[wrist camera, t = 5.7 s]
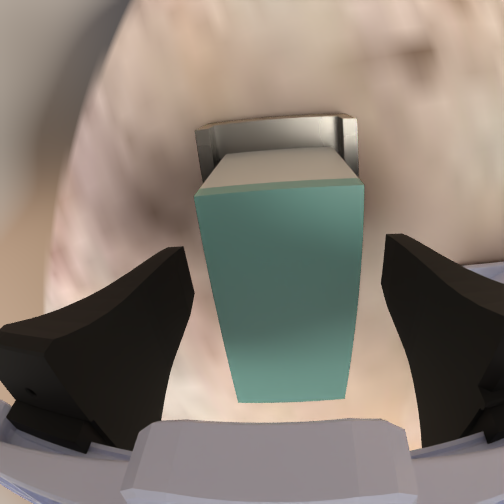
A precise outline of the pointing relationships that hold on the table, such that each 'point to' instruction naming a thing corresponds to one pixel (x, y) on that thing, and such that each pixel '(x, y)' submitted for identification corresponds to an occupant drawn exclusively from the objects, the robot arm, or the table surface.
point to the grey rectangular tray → (277, 137)
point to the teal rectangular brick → (284, 269)
